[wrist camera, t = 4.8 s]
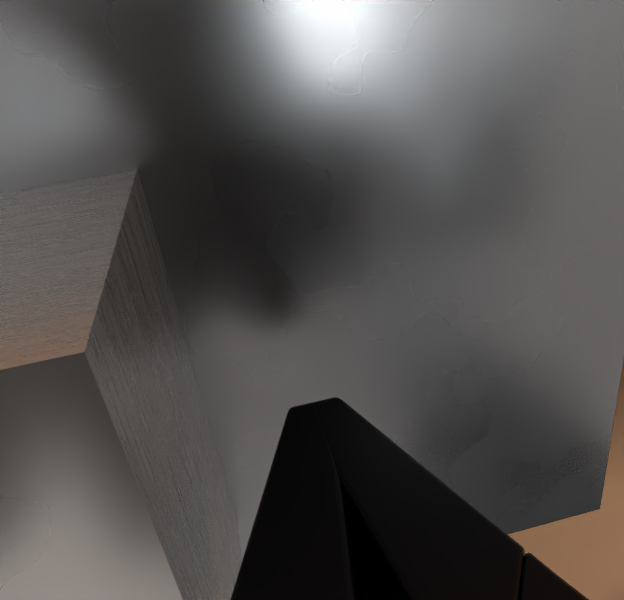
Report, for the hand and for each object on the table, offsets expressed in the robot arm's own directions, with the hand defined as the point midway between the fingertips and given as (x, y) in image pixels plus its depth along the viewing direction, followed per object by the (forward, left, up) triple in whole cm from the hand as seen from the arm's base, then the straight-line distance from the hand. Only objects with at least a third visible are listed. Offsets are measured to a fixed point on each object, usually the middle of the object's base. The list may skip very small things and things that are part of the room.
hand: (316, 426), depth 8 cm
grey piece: (0, +4, -2) cm, 4 cm away
